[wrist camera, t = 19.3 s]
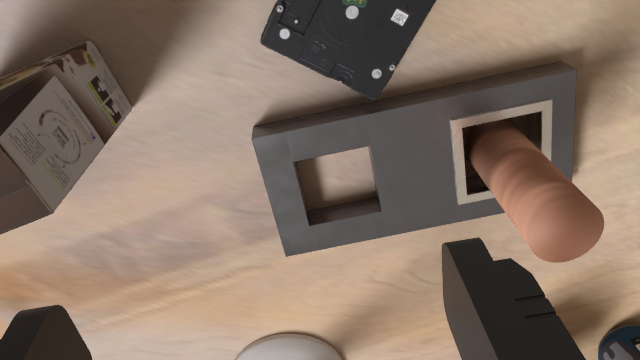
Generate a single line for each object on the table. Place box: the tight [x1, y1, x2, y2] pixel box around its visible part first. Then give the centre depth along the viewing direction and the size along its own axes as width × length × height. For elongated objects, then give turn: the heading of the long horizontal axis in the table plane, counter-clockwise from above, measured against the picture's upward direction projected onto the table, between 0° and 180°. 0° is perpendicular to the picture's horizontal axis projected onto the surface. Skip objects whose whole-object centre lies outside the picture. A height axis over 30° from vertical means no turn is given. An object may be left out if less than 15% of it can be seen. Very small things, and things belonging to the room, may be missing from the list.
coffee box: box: [0, 41, 132, 234], centre depth 34 cm, size 9×6×16 cm
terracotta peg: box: [463, 119, 604, 262], centre depth 39 cm, size 5×5×14 cm
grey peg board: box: [252, 61, 577, 257], centre depth 44 cm, size 26×12×3 cm, turn 101°
